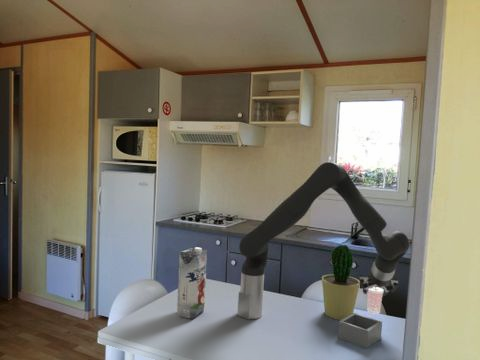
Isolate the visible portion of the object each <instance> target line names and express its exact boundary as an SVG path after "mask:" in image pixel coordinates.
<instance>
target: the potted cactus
mask: <svg viewBox="0 0 480 360" xmlns="http://www.w3.org/2000/svg"><path fill="white" fill-rule="evenodd" d="M330 252H331V255H330V258H329V259H330V260H329V261H330V262H329V263H330V265H331V268H333V269H332V270H330V271H331V272H332V273H333V274H326V275H325V274H324V275H322V276H321V285H322V294H323V307H324V314H325V316H327V317H328V316H329V318H330V317H331V318H330V319H333V318H334V320H338V319H339V321H340V320H342V319H344V318H346V317H348V316H349V315H351V314H353V313H355V312H354V310H355V306H356V304H357V303H356V302H357V298H358V294H359V289H360V283H359V281H360V279H358V278H355V277H352V276H350V274H351V270H352V268H353V266H354V257H353V256H354V255H353V251H351V249H350V247H349V245H346V244H343V245H342V244H339V245H338V244H337V245H336V247H334V248H333V250H332V251H330Z"/></svg>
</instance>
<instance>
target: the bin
mask: <svg viewBox="0 0 480 360" xmlns="http://www.w3.org/2000/svg"><path fill="white" fill-rule="evenodd" d="M337 330H338V332H337V333H338V334H337V338H339V339H341V340H344V341H346V342H350V343H351V344H353V345H357V346H359V347H362V348H365V349H368V348H370V347H371V346H372V345H373V344H375V343H376V342H377V341H379V340H380V339H382V331H383V321H381V320H378V319H374V318H371V317H368V316H365V315H362V314H359V313H357V312H353V314H351V315H349V316H348V317H346V318H344V319H342V320H339V321H338V329H337Z"/></svg>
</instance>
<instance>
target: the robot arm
mask: <svg viewBox="0 0 480 360" xmlns="http://www.w3.org/2000/svg"><path fill="white" fill-rule="evenodd" d="M329 189H332V190H333V191H335V192H336V193H337V194H338V195H339V196H340V197H341V199H343V201H345V203H346V204H347V206H348V207H349V209H350V211H351V214H352V215H353V216H354V218H355V220H357V222H358V223H359V224H360V226H361V227H362V228H363V230H365V231H366V233H367V234H368V236H369V238H370V240H371V242H372V244H373V246H374V248H375V250H376V253H377V255H376V258H375V260H374V262H373V263H372V267H371V269H370V272H369V275H368V276H364V275H363V274H361V275H359V283H360V284H359V289H362V293H363V294H364V295H368V289H369V288H370V289H371V288H373V287H379V288H382V289H383V290H384V292H383V294H382V297H385V296H387V295H388V293H389V292H391V293H394V292H395V291H396V290H397V288H398V287H399V279H398V278H394V279H393V277H394V275H395V272H396V269H397V265H398V263H399V262H400V260H401V259H402V258H403V257H404V256H405V254H407V251H408V250H409V247H410V241H409V238H408V236H407V234H405V233H404V232H401V231H393V232H391V233H389V234H387V235H385V236H383V234H382V232H383V231H384V229H385V228H386V227H387V225H388V224H387V222H386V220H385V218H383V216H382V215H381V214H380V213H379V212H378V211H377V209H376V208H375V207H374V206H373V205H372V204H371V202H369V201H368V199H366V197H365V196H364V195H363V194H362V193H361V191H360V190H359V188H357V186H356V184H355V183H354V181H353V179H351V176H350V175H349V174H348V172H347V170H346V169H345V167H344V166H343V165H341V164H339V163H336V162H333V161H326V162H323V163H321V164H320V165H319V166H318V167H317V168H316V170H314V171H313V173H312V174H311V175H310V176H309V177H308V178H307V179H306V181H304V183H303V184H301V186H299V187H298V188H297V189H296V190H295V191H294V192H293V193H291V195H289V196H288V197H287V198H285V199H284V200H283V201H282V202H281V203H280V204H279V205H278V206H277V207H276V208H274V210H273V211H271V213H270V214H269V215H268V216H267V217H266V218H265V219H264V220H263V221H262V222H261V223H260V224H258V226H256V227H255V228H254V229H252V230H251V231H250V232H248V233H247V234H245V235H244V236H243V237H242V238H241V240H240V241H239V248H238V249H239V252H240V253H241V255H242V256H244V257H245V260H244V262H243V263H242V265H241V271H240V272H241V273H240V274H241V275H240V291H239V292H238V298H237V299H238V303H237V316H239V317H240V318H244V319H246V320H256V319H260V318H261V317H262V316H263V301H264V283H265V269H266V267H267V263H268V255H269V254H268V253H269V243H270V242H271V241H272V240H273V239H274V238H276V237H277V236H279V235H281V234H283V233H284V232H286V231H287V230H290V228H292V227H293V226H295V225H296V224H297V223H298V222H299V221H300V220H301V219H303V217H304V216H306V215H307V213H308V211H309V209H310V208H311V206H312V205H313V203H314V202H315V201H316V200H317V198H319V197H320V196H321V195H322V194H324V193H325V192H327V191H328V190H329Z"/></svg>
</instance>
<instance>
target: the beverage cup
mask: <svg viewBox="0 0 480 360" xmlns="http://www.w3.org/2000/svg"><path fill="white" fill-rule="evenodd" d="M383 292H384V290H383V288H381V287H373V288H371V289H370V288H369V289H368V291H367V299H366V300H367V303H366V304H367V305H366V306H367V307H366V312H368V313H369V314H373V315H379V314H380V313H381V308H382V301H383V296H382V294H383Z"/></svg>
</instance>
